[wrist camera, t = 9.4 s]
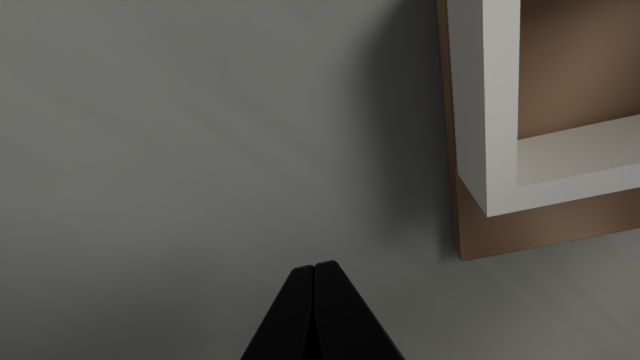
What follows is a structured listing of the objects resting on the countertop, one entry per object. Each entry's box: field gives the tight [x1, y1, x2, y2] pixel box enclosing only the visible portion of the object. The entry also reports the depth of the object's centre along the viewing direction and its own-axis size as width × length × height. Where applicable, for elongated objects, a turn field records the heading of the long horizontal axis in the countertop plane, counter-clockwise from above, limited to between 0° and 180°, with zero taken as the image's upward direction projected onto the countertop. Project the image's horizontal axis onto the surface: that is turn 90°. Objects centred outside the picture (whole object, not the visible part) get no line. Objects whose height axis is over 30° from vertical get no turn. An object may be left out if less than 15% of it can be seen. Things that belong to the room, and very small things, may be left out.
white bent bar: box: [447, 0, 640, 217], centre depth 13 cm, size 11×8×3 cm
